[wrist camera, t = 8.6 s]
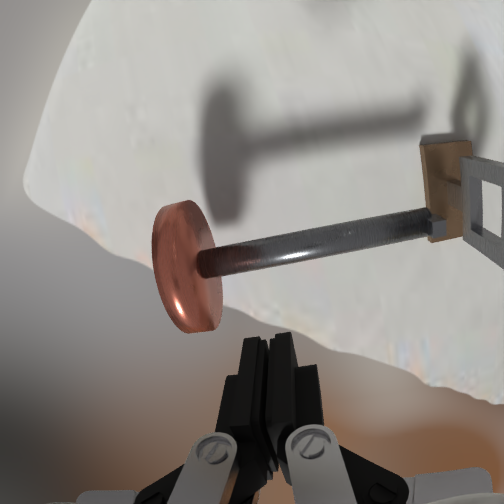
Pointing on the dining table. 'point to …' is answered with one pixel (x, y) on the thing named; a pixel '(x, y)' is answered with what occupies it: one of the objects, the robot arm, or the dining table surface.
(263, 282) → the dining table surface
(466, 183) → the eye post
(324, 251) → the copper disc on rod
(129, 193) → the dining table surface
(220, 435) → the robot arm
